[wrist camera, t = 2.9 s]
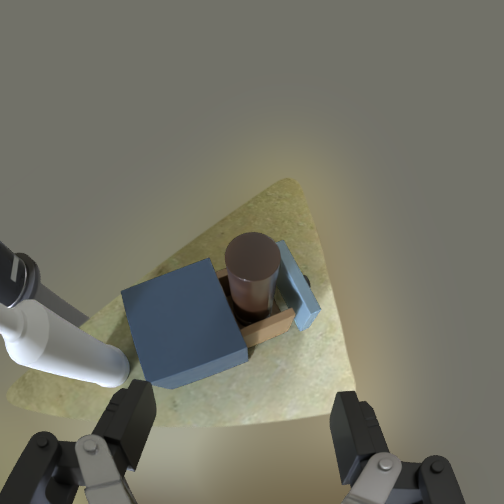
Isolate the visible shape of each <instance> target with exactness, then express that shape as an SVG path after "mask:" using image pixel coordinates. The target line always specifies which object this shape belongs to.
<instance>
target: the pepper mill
mask: <svg viewBox="0 0 504 504" xmlns="http://www.w3.org/2000/svg"><path fill="white" fill-rule="evenodd" d="M280 261H281V253H280V250H279V247H278V245H277V244H276V243H275V241H274V240H273V239H271V238H270V237H268V236H267V235H264V234H262V233H257V232H249V233H244V234H241V235H239V236H237V237H236V238H234V239H233V240H232V241H231V242H230V243H229V245H228V247H227V249H226V252H225V263H226V268H227V274H228V280H229V285H230V291H231V296H232V302H233V310H234V313H235V317H236V319H237V321H238V322H239V323H240V324H241V325H243V326H245V327H247V326H249V325H252V324H254V323H256V322H259V321H261V320H264V319H266V318H268V317H270V315H271V312H272V306H273V299H274V294H275V288H276V283H277V278H278V272H279V267H280Z"/></svg>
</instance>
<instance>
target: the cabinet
mask: <svg viewBox="0 0 504 504" xmlns="http://www.w3.org/2000/svg"><path fill="white" fill-rule="evenodd" d="M121 295H122V299H123V303H124V307H125V311H126V315H127V319H128V323H129V326H130V330H131V334H132V337H133V341H134V344H135V348H136V351H137V354H138V357H139V361H140V364H141V367H142V370H143V373H144V376H145V379H146V381H149V382H151V385H154V386H158V387H163V388H167V389H175V388H177V387H180V386H183V385H186V384H189V383H192V382H195V381H198V380H200V379H203V378H206V377H209V376H211V375H214V374H217V373H219V372H222V371H224V370H227V369H230V368H232V367H235V366H237V365H240V364H242V363H245V362H247V361H248V349H247V345H246V343H245V341H244V338H243V336H242V334H241V332H240V329H239V327H238V325H237V322H236V320H235V318H234V315H233V313H232V311H231V308H230V306H229V304H228V301H227V299H226V297H225V294H224V292H223V290H222V287H221V285H220V282H219V280H218V278H217V275H216V273H215V270H214V268H213V265H212V263H211V260H210V258H206V259H204V260H201V261H198V262H196V263H193V264H190V265H188V266H185V267H183V268H180V269H177V270H175V271H172V272H169V273H167V274H164V275H161V276H159V277H156V278H154V279H151V280H148V281H146V282H143V283H140V284H138V285H135V286H133V287H130V288H127V289H125V290H122V291H121Z"/></svg>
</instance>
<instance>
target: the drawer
mask: <svg viewBox="0 0 504 504" xmlns="http://www.w3.org/2000/svg"><path fill="white" fill-rule="evenodd" d="M276 244H277V245H278V247H279V250H280V253H281V261H280V267H279V272H278V278H277V283H276V285H277V287H278V289H279V291H280V293H281V295H282V297H283V299H284V301H285V303H286V305H287V307H288V309H287V310H285V311H283V312H280V310H279V308H278V306H277V304H276V302H275V300H274V299H273V306H272V312H271V315H270V317H268V318H266V319H264V320H261V321H259V322H256V323H254V324H252V325H249V326H247V327H245V326H243V325H241V324H240V323H239V322H238V321H237V319H236V317H235V313H234V310H233V302H232V296H231V291H230V285H229V280H228V274H227V268H225V269H222V270H219V271H217V272H215V273H216V275H217V278H218V280H219V282H220V285H221V287H222V290H223V292H224V294H225V297H226V299H227V301H228V304H229V306H230V308H231V311H232V313H233V315H234V318H235V320H236V322H237V325H238V327H239V329H240V332H241V334H242V336H243V338H244V341H245V343H246V345H247V348H250V347H252V346H254V345H257V344H259V343H262V342H264V341H266V340H269V339H271V338H273V337H276V336H278V335H280V334H282V333H285V332H287V331H288V330H289V328H290V326H291V324H292V321H293V319H294V321H295V323H296V325H297V327H298V329H299V331H303V330H305V329H307V328H309V327H310V325H311V324H312V322H313V321H314V319H315V318H316V316H317V315H318V313H319V312H320V310H321V308H320V306H319V304H318V302H317V300H316V298H315V296H314V295H313V293H312V291H311V289H310V282H309V280H308V278H307V277H306V276H305V275H303V274H302V272H301V271H300V269H299V267H298V265H297V263H296V262H295V260H294V258H293V256H292V254H291V252H290V251H289V249H288V247H287V245H286V244H285V242H284V240H281V241H279V242H276Z"/></svg>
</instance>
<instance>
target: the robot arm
mask: <svg viewBox="0 0 504 504" xmlns="http://www.w3.org/2000/svg"><path fill="white" fill-rule="evenodd" d="M28 281H29V271H28V267H27V265H26V263H25V262H24V261H23V260H22V259H20V258H19V257H17V256H16V255H15V254H14V253H13V252H12V251H11V250H9V248H7V247H6V246H5V245H4V244H3V243H2V242H1V241H0V303H1V304H3V305H5V306H6V307H8V308H11V307H15V306H16V305H17V304H18V303H19V302H20V301H21V300H22V298H23V296H24V294H25V292H26V289H27V286H28ZM155 417H156V402H155V398H154V393H153V389H152V385H151V382H149V381H143V380H137V379H133V380H132V382H131V384H130V386H129V387H128V389H125V388H122V389H120V390H119V391H118V392H116V393H115V394H114V395H113V397H112V399H111V400H110V402H109V404H108V406H107V407H106V410H105V411H104V413H103V414H102V416H101V418H100V420H99V421H98V423H97V425H96V427H95V429H94V430H93V432H92V434H91V435H86V436H83V437H81V438H80V439H79V440H78V441H77V442H68V441H58V440H57V438H56V437H55V436H54V435H53V434H52V433H50V432H45V431H42V432H38V433H36V434H34V435H33V436H32V438H31V439H30V441H29V442H28V444H27V446H26V447H25V449H24V451H23V452H22V454H21V456H20V458H19V459H18V461H17V463H16V465H15V467H14V468H13V470H12V472H11V474H10V475H9V477H8V479H7V481H6V483H5V485H4V487H3V489H2V491H1V493H0V504H72V503H73V500H74V498H75V495H76V493H77V490H78V487H79V486H86V488H85V489H84V490H85V495H86V498H87V500H88V503H89V504H137V502H136V500H135V498H134V496H133V494H132V492H131V490H130V488H129V486H128V484H127V482H126V479H125V477H124V475H125V472H126V470H130V471H134V472H135V470H136V467H137V464H138V462H139V459H140V457H141V453H142V451H143V448H144V446H145V443H146V441H147V438H148V435H149V433H150V430H151V427H152V425H153V422H154V420H155ZM330 430H331V434H332V439H333V444H334V448H335V453H336V458H337V462H338V468H339V473H340V478H341V483H342V485H346V484H350V486H351V490H350V492H349V493H348V494H347V496H346V497H345V498H344V500H343V501H342V503H341V504H465V501H464V498H463V495H462V493H461V490H460V487H459V485H458V482H457V480H456V477H455V474H454V472H453V470H452V467H451V464H450V463H449V461H448V460H447V459H446V458H444V457H442V456H438V455H433V456H430V457H427V458H426V459H425V460H424V461H423V462H422V463H410V462H403V461H400V459H399V458H398V457H397V456H395V455H394V454H391V453H390V452H389V449H388V447H387V444H386V441H385V439H384V436H383V433H382V431H381V428H380V426H379V423H378V420H377V419H376V415H375V412H374V410H373V408H372V407H371V406H370V405H369V404H368V403H367V402H366V401H362V402H359V400H358V398H357V395H356V392H355V391H344V392H337V394H336V397H335V400H334V404H333V408H332V411H331V415H330Z"/></svg>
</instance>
